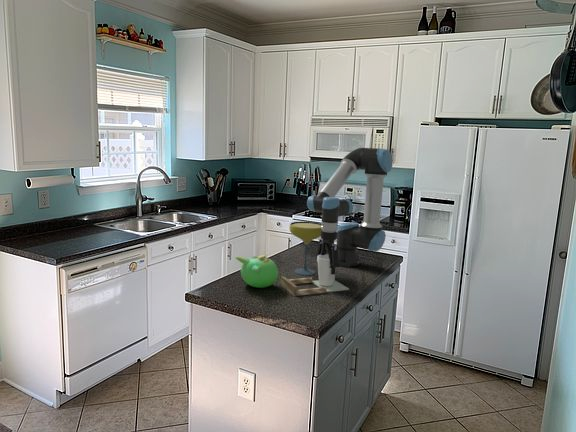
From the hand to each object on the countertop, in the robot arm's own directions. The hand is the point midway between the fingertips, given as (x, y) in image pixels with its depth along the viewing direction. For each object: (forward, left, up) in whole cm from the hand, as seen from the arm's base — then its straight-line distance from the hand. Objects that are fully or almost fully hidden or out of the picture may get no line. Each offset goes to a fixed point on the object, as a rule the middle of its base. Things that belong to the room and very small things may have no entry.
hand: (326, 277), depth 208 cm
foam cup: (0, 0, -3) cm, 3 cm away
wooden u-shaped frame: (+12, 0, -4) cm, 13 cm away
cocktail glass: (0, -22, -5) cm, 23 cm away
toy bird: (+31, -8, -5) cm, 32 cm away
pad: (-2, 0, -4) cm, 5 cm away
